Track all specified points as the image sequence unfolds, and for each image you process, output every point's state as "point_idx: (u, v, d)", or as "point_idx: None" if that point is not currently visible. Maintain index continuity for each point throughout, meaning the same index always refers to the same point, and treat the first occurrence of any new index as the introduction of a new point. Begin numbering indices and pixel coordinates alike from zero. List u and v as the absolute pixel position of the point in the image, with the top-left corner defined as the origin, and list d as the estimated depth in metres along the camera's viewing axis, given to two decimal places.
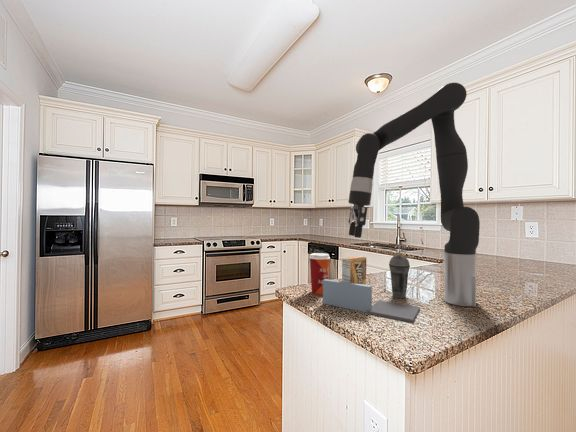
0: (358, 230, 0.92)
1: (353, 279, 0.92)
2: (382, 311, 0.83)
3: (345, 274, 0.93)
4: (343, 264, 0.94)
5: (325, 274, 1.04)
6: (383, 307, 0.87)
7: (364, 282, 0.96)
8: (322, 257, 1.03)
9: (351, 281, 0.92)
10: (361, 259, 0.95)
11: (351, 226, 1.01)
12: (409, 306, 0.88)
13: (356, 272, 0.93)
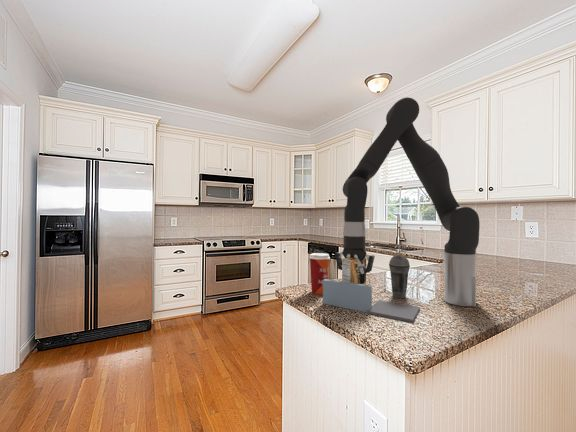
0: (364, 277, 0.93)
1: (353, 278, 0.92)
2: (382, 311, 0.83)
3: (346, 274, 0.93)
4: (343, 264, 0.94)
5: (325, 274, 1.04)
6: (383, 307, 0.87)
7: None
8: (322, 257, 1.03)
9: (351, 281, 0.92)
10: None
11: None
12: (409, 306, 0.88)
13: (356, 272, 0.93)
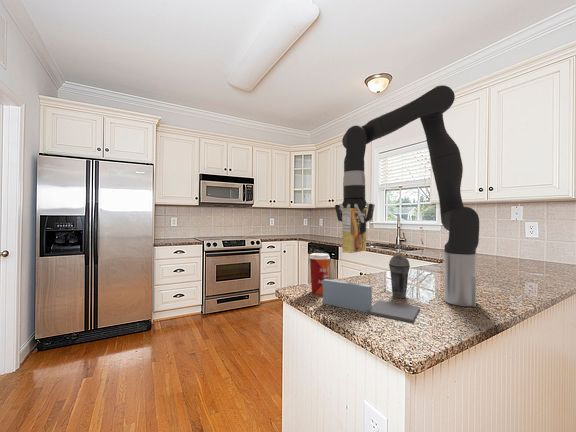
0: (365, 226, 0.93)
1: (353, 227, 0.92)
2: (382, 311, 0.83)
3: (346, 223, 0.93)
4: (343, 214, 0.94)
5: (325, 274, 1.04)
6: (383, 307, 0.87)
7: (364, 233, 0.96)
8: (322, 257, 1.03)
9: (351, 229, 0.92)
10: None
11: None
12: (409, 306, 0.88)
13: (356, 222, 0.93)
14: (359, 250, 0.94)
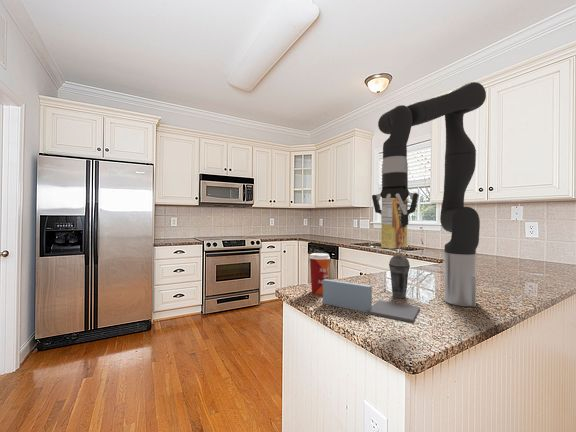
0: (407, 219, 0.83)
1: (395, 219, 0.82)
2: (382, 311, 0.83)
3: (386, 214, 0.83)
4: (383, 204, 0.84)
5: (325, 274, 1.04)
6: (383, 307, 0.87)
7: None
8: (322, 257, 1.03)
9: (393, 222, 0.81)
10: None
11: None
12: (409, 306, 0.88)
13: (398, 213, 0.83)
14: (400, 245, 0.84)
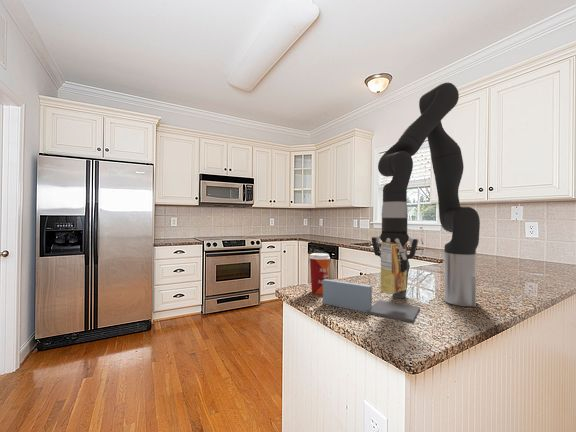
0: (407, 264, 0.83)
1: (394, 265, 0.82)
2: (382, 311, 0.83)
3: (386, 259, 0.83)
4: (382, 249, 0.84)
5: (325, 274, 1.04)
6: (383, 307, 0.87)
7: None
8: (322, 257, 1.03)
9: (392, 268, 0.82)
10: None
11: None
12: (409, 306, 0.88)
13: (397, 258, 0.83)
14: (399, 290, 0.84)
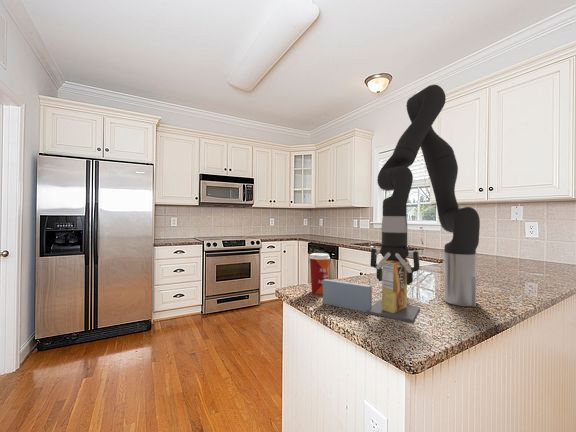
0: (412, 277, 0.82)
1: (396, 284, 0.82)
2: (382, 311, 0.83)
3: (387, 278, 0.82)
4: (384, 267, 0.83)
5: (325, 274, 1.04)
6: None
7: (405, 287, 0.86)
8: (322, 257, 1.03)
9: (394, 287, 0.81)
10: None
11: (380, 270, 0.87)
12: (409, 306, 0.88)
13: (399, 277, 0.83)
14: (400, 308, 0.84)
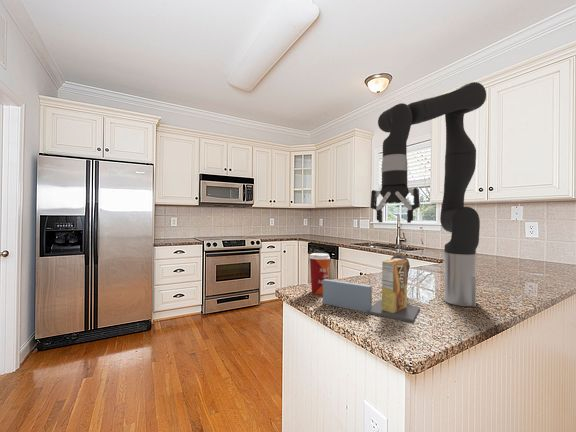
0: None
1: (396, 284, 0.82)
2: (382, 311, 0.83)
3: (387, 278, 0.83)
4: (384, 267, 0.83)
5: (325, 274, 1.04)
6: None
7: (405, 287, 0.86)
8: (322, 257, 1.03)
9: (394, 287, 0.81)
10: (403, 262, 0.85)
11: (380, 212, 0.87)
12: (409, 306, 0.88)
13: (398, 277, 0.83)
14: (400, 308, 0.84)
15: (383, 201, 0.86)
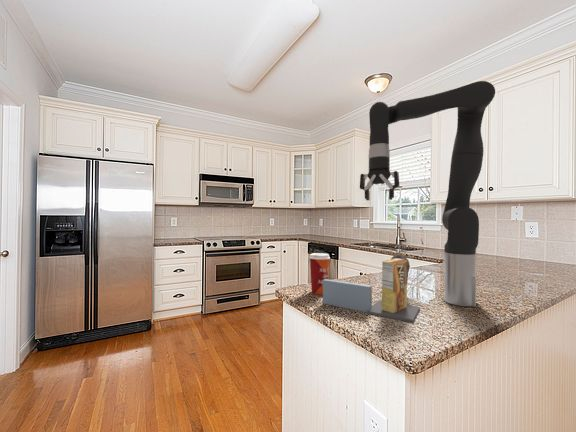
0: (393, 192, 1.01)
1: (396, 284, 0.82)
2: (382, 311, 0.83)
3: (387, 278, 0.83)
4: (384, 267, 0.83)
5: (325, 274, 1.04)
6: None
7: (405, 287, 0.86)
8: (322, 257, 1.03)
9: (394, 287, 0.81)
10: (403, 262, 0.85)
11: (368, 191, 1.05)
12: (409, 306, 0.88)
13: (398, 277, 0.83)
14: (400, 308, 0.84)
15: (370, 182, 1.04)
